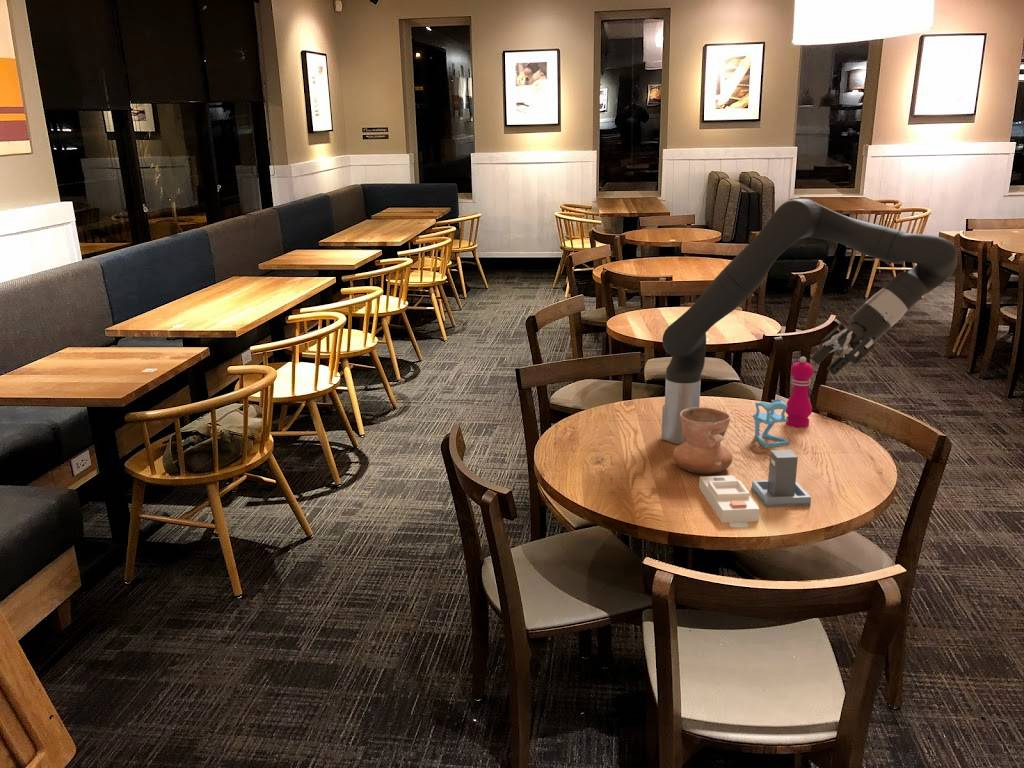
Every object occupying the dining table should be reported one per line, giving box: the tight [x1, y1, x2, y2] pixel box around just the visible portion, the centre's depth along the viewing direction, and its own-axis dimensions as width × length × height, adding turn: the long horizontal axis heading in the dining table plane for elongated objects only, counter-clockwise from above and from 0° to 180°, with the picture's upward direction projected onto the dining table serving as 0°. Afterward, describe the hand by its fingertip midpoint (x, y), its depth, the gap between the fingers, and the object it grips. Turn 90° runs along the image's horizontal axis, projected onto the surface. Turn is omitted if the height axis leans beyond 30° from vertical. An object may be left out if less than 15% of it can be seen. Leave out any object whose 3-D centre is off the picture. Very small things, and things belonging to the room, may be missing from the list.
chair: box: [752, 399, 790, 449], centre depth 219 cm, size 8×8×12 cm
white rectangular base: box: [698, 474, 761, 524], centre depth 183 cm, size 18×8×4 cm, turn 3°
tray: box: [751, 479, 812, 508], centre depth 187 cm, size 10×10×2 cm
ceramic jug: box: [672, 406, 734, 475], centre depth 203 cm, size 18×14×14 cm
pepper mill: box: [785, 356, 814, 429], centre depth 230 cm, size 7×7×20 cm
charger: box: [767, 449, 799, 497], centre depth 186 cm, size 5×5×10 cm
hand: (821, 366), depth 180 cm, fingers open, 8 cm apart
